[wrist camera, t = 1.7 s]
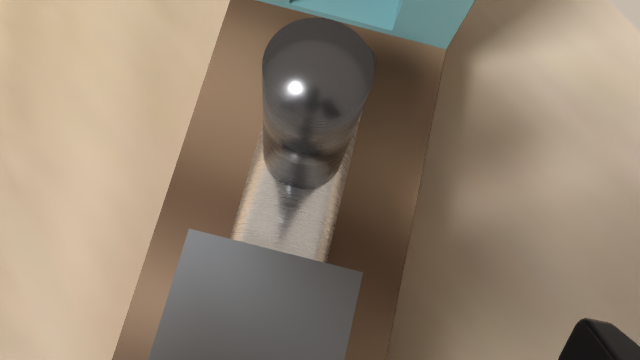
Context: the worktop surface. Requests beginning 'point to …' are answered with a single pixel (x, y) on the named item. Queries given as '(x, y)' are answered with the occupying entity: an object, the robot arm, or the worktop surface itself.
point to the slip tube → (305, 136)
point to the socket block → (392, 16)
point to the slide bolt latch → (270, 265)
